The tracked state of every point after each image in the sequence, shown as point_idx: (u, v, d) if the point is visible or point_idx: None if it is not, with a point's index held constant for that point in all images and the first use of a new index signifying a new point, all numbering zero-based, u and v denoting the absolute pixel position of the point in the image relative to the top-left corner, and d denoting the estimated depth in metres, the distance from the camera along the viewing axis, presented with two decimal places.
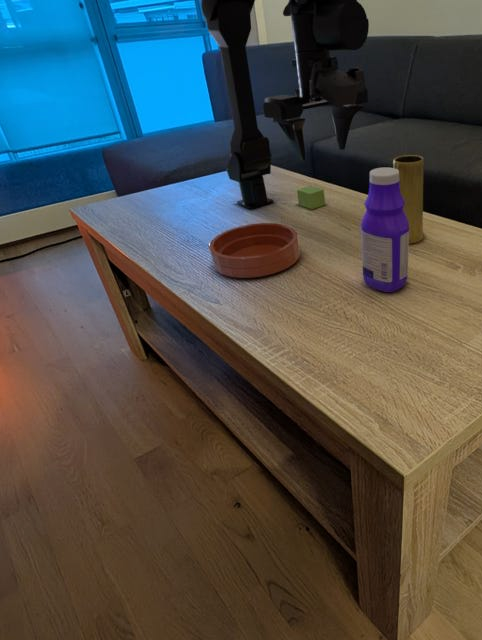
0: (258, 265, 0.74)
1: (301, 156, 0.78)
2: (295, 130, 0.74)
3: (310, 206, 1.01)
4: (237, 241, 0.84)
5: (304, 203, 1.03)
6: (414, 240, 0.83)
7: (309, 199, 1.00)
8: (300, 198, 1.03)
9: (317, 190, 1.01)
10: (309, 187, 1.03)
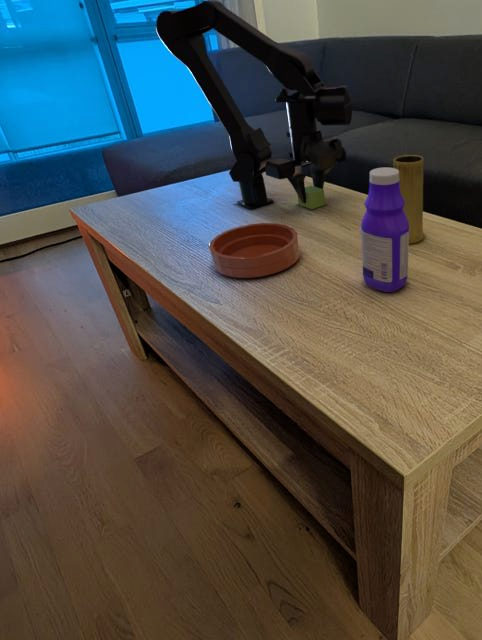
0: (258, 265, 0.74)
1: (303, 200, 1.01)
2: (298, 182, 0.97)
3: (310, 205, 1.01)
4: (237, 241, 0.84)
5: (304, 203, 1.03)
6: (414, 240, 0.83)
7: (309, 199, 1.00)
8: None
9: (317, 190, 1.01)
10: (309, 187, 1.03)
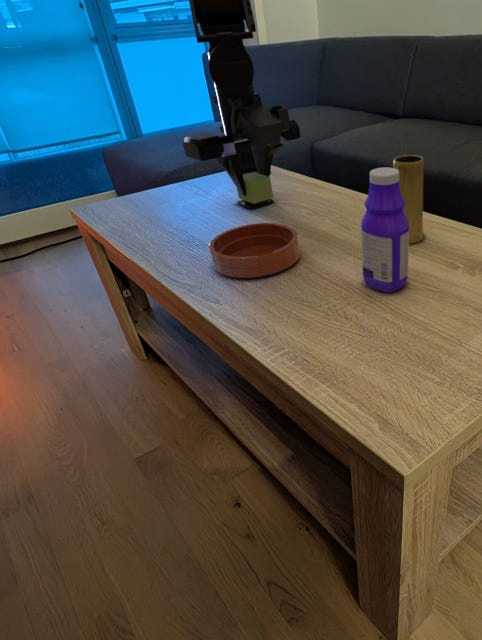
0: (258, 265, 0.74)
1: (242, 191, 0.75)
2: (232, 166, 0.71)
3: (252, 199, 0.75)
4: (237, 241, 0.84)
5: (245, 196, 0.77)
6: (414, 240, 0.83)
7: (249, 189, 0.74)
8: None
9: (261, 178, 0.75)
10: (252, 175, 0.77)
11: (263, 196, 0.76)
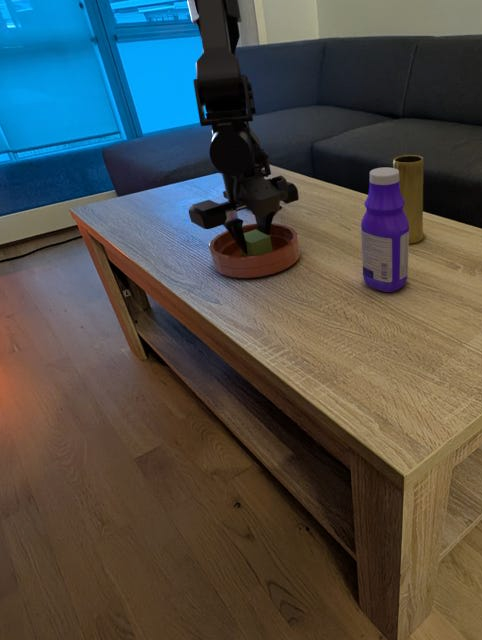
0: (258, 265, 0.74)
1: (243, 250, 0.80)
2: (234, 230, 0.76)
3: None
4: None
5: None
6: (414, 240, 0.83)
7: (251, 249, 0.79)
8: None
9: (261, 237, 0.80)
10: (253, 233, 0.81)
11: None
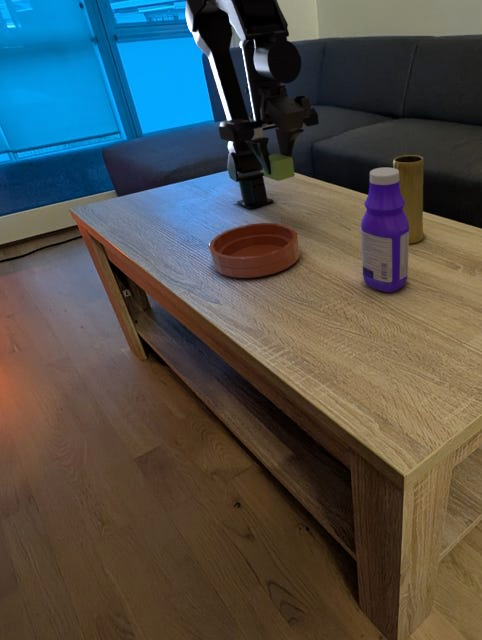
0: (258, 265, 0.74)
1: (267, 170, 0.86)
2: (260, 148, 0.82)
3: (276, 176, 0.86)
4: (237, 241, 0.84)
5: None
6: (414, 240, 0.83)
7: (275, 168, 0.85)
8: None
9: (284, 158, 0.86)
10: (276, 155, 0.87)
11: (286, 174, 0.87)
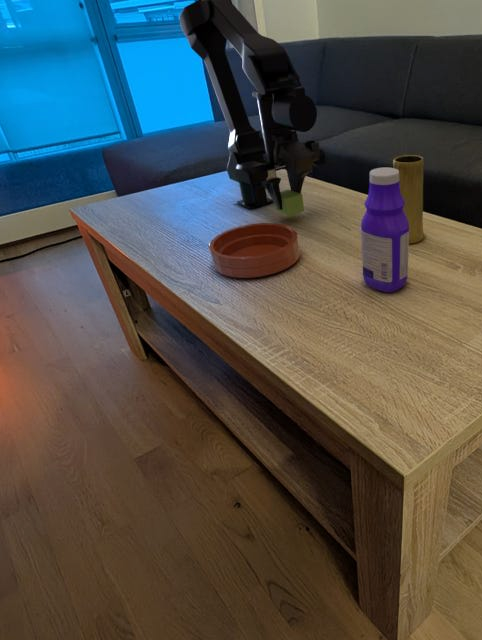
0: (258, 265, 0.74)
1: (279, 206, 0.93)
2: (273, 187, 0.89)
3: (287, 212, 0.93)
4: (237, 241, 0.84)
5: None
6: (414, 240, 0.83)
7: (286, 204, 0.92)
8: None
9: (295, 195, 0.93)
10: (287, 192, 0.95)
11: (296, 209, 0.94)
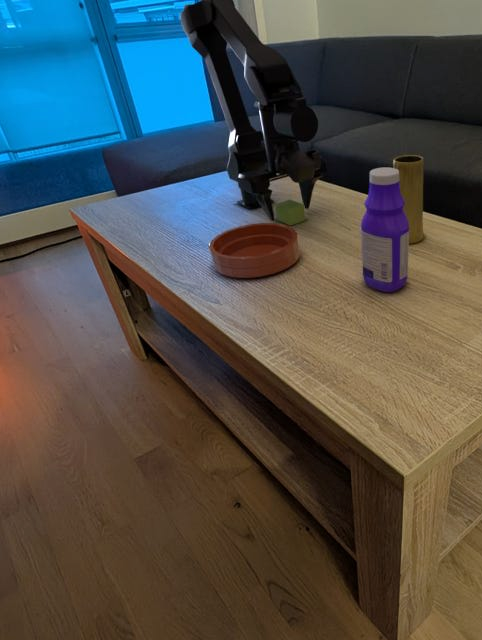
0: (258, 265, 0.74)
1: (270, 217, 0.93)
2: (264, 199, 0.89)
3: (289, 221, 0.94)
4: (237, 241, 0.84)
5: (283, 219, 0.96)
6: (414, 240, 0.83)
7: (287, 214, 0.93)
8: (278, 213, 0.96)
9: (296, 205, 0.94)
10: (288, 202, 0.96)
11: (298, 219, 0.95)
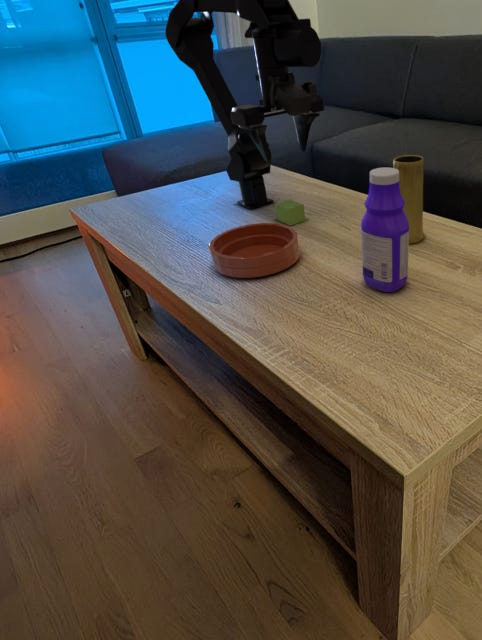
0: (258, 265, 0.74)
1: (265, 157, 0.90)
2: (258, 135, 0.86)
3: (289, 221, 0.94)
4: (237, 241, 0.84)
5: (283, 219, 0.96)
6: (414, 240, 0.83)
7: (287, 214, 0.93)
8: (278, 213, 0.96)
9: (296, 205, 0.94)
10: (288, 202, 0.96)
11: (298, 219, 0.95)
